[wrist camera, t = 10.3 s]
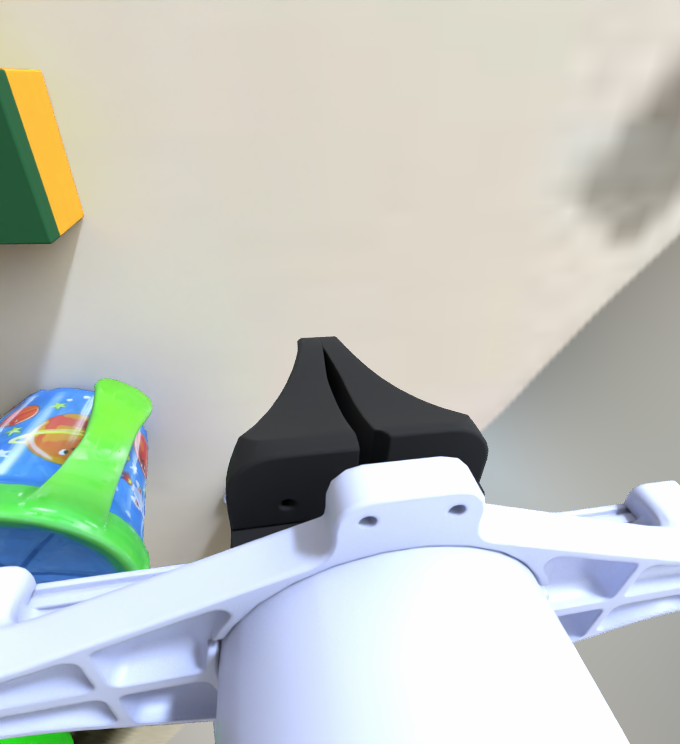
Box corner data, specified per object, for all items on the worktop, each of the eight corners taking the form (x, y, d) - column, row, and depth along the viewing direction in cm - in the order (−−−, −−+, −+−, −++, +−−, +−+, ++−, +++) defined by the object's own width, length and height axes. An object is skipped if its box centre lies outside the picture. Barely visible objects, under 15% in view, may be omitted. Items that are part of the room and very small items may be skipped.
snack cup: (93, 526, 31) (37, 688, 23) (-74, 465, 26) (-228, 649, 17) (234, 398, 27) (228, 541, 18) (70, 291, 21) (-43, 426, 13)
